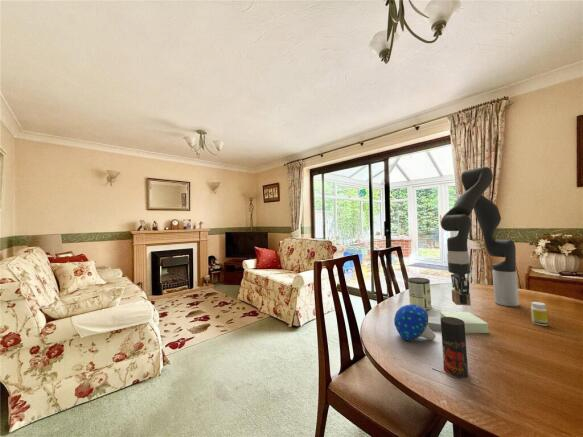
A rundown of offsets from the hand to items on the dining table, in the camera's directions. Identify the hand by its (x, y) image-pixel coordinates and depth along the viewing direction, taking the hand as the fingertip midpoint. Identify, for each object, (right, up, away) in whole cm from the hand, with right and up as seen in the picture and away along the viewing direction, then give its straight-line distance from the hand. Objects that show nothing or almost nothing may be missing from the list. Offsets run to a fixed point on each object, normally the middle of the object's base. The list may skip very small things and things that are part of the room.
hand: (461, 301), depth 98 cm
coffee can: (-4, -11, +24) cm, 27 cm away
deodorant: (-23, -10, -29) cm, 39 cm away
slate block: (-11, -11, 0) cm, 16 cm away
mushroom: (-25, -11, -9) cm, 28 cm away
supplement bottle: (+32, -9, -2) cm, 33 cm away
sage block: (0, -11, 0) cm, 11 cm away
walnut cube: (0, -1, 0) cm, 1 cm away
